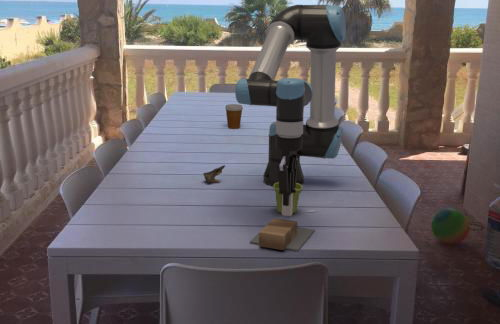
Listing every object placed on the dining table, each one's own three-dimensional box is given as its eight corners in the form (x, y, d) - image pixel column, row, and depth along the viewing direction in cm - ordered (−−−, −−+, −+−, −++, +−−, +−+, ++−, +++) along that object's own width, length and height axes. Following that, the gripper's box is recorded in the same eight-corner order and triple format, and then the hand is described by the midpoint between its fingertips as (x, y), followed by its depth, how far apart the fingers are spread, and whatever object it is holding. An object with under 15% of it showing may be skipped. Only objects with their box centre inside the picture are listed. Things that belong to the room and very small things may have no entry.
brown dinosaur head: (222, 182, 224) (223, 164, 223) (225, 184, 217) (226, 166, 217) (201, 181, 222) (202, 163, 221) (204, 183, 216) (205, 165, 215)
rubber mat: (269, 224, 179) (270, 222, 178) (314, 231, 174) (314, 229, 173) (249, 243, 164) (249, 241, 164) (297, 251, 159) (298, 249, 159)
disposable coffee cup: (223, 126, 320) (223, 104, 317) (239, 125, 323) (240, 103, 320) (227, 130, 311) (227, 107, 308) (245, 129, 314) (245, 106, 311)
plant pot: (299, 206, 195) (300, 181, 192) (303, 216, 186) (304, 190, 183) (271, 206, 194) (272, 181, 192) (273, 216, 185) (274, 190, 183)
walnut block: (274, 218, 171) (259, 232, 160) (297, 221, 168) (283, 236, 158) (274, 231, 172) (258, 245, 161) (297, 234, 169) (283, 250, 159)
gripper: (284, 129, 171) (282, 206, 177) (268, 138, 159) (266, 220, 166) (309, 131, 168) (306, 209, 175) (294, 141, 157) (292, 224, 163)
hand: (286, 214), depth 170 cm, fingers closed
